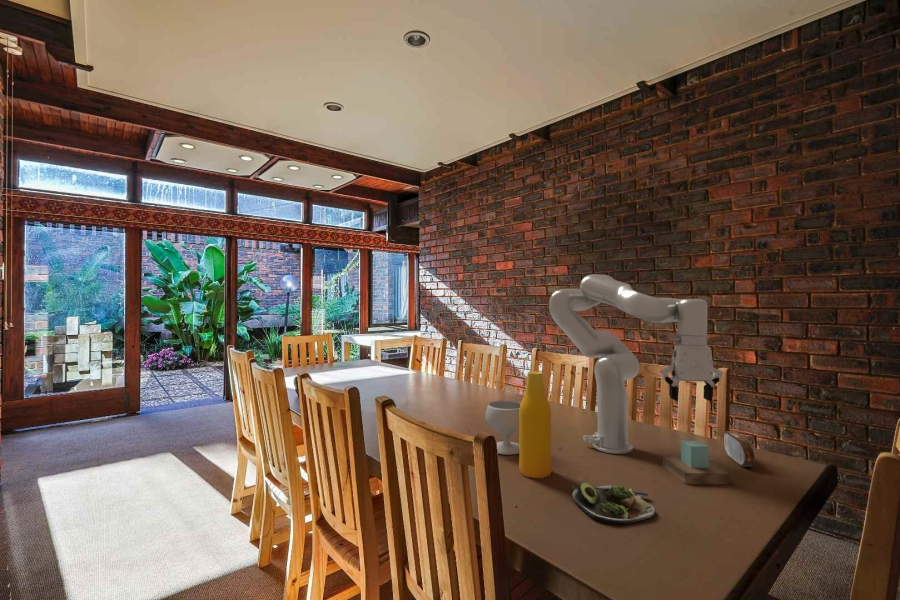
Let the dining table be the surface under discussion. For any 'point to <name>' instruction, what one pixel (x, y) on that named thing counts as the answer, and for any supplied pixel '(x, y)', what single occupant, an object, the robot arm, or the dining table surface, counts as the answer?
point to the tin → (739, 449)
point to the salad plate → (611, 503)
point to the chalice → (504, 423)
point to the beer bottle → (535, 429)
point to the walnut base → (696, 472)
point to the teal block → (694, 454)
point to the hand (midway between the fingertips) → (690, 399)
